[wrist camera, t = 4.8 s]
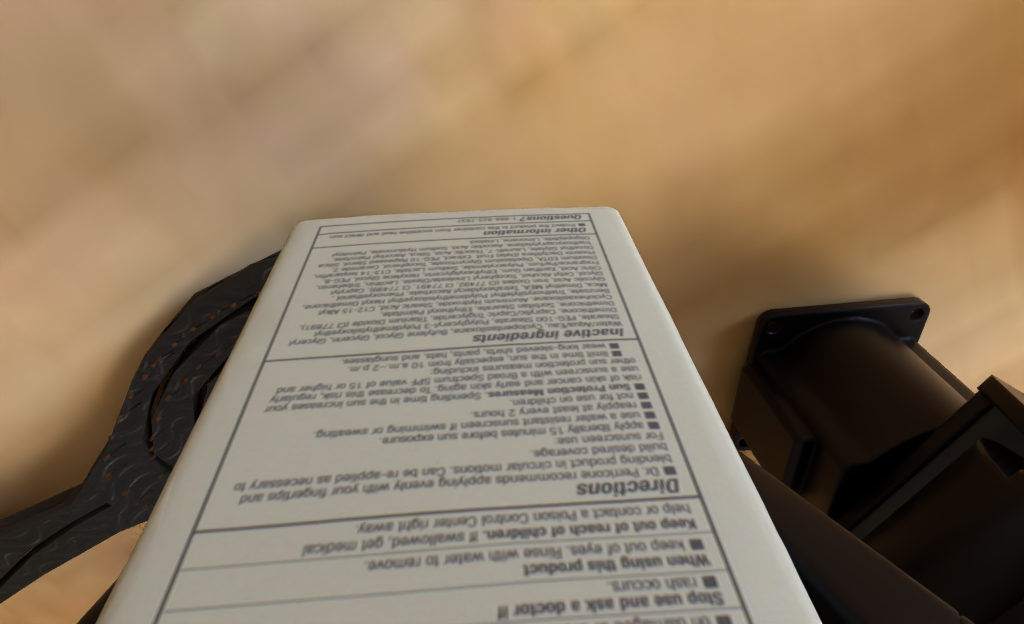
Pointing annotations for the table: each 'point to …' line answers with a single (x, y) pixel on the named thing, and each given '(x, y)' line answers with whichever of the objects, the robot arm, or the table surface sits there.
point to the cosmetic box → (460, 444)
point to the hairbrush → (136, 436)
